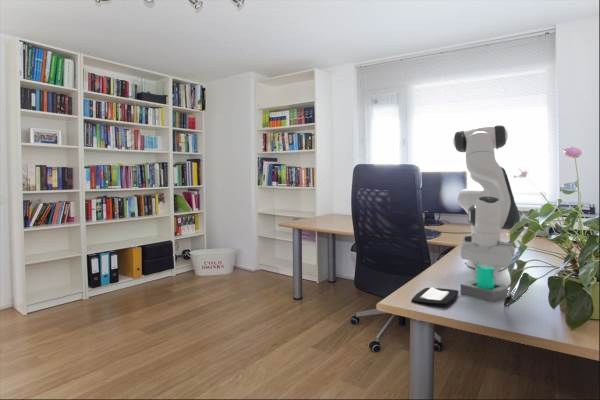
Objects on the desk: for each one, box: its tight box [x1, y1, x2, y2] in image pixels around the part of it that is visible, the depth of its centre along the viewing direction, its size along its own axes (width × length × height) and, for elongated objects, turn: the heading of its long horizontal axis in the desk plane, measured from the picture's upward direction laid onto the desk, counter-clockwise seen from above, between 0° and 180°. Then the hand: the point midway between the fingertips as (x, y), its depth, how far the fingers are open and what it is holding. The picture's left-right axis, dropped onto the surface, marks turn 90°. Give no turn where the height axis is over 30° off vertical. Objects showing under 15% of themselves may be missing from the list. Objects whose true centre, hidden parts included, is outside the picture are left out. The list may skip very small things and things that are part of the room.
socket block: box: [459, 279, 509, 303], centre depth 147 cm, size 13×13×4 cm
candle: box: [476, 266, 495, 290], centre depth 146 cm, size 6×6×12 cm
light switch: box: [411, 287, 459, 307], centre depth 142 cm, size 20×3×14 cm
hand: (486, 274), depth 146 cm, fingers closed on candle, 5 cm apart
